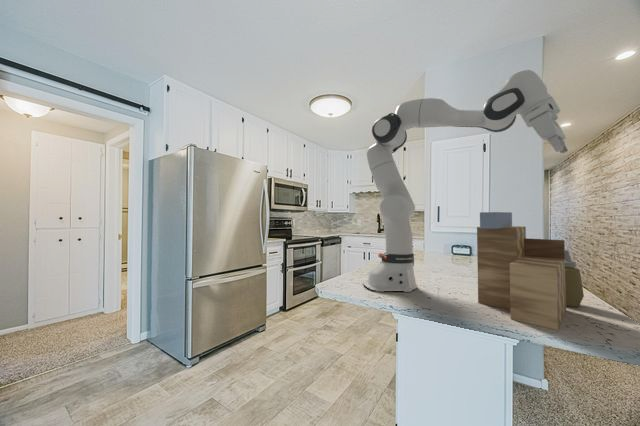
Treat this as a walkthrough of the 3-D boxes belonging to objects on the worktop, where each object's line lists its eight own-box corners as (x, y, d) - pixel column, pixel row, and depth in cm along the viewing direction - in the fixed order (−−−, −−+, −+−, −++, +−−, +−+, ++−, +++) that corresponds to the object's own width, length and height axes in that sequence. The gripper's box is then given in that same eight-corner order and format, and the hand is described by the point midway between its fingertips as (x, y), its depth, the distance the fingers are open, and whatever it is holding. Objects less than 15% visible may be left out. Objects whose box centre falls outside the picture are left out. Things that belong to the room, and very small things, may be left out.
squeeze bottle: (563, 299, 91) (562, 248, 91) (591, 307, 83) (590, 251, 83) (544, 301, 89) (543, 249, 90) (570, 309, 81) (569, 252, 82)
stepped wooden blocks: (557, 330, 67) (555, 230, 67) (468, 308, 83) (467, 228, 83) (566, 308, 82) (564, 227, 83) (490, 294, 98) (489, 225, 98)
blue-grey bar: (496, 228, 78) (496, 212, 78) (480, 228, 81) (479, 212, 81) (512, 226, 91) (511, 212, 91) (497, 226, 94) (496, 212, 94)
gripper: (536, 124, 93) (555, 158, 90) (522, 116, 80) (544, 155, 77) (558, 113, 89) (579, 148, 86) (546, 102, 76) (571, 143, 73)
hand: (562, 151), depth 81 cm, fingers open, 8 cm apart
